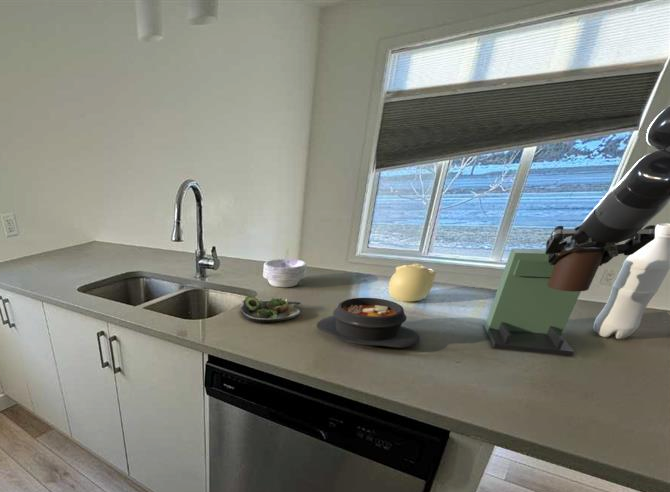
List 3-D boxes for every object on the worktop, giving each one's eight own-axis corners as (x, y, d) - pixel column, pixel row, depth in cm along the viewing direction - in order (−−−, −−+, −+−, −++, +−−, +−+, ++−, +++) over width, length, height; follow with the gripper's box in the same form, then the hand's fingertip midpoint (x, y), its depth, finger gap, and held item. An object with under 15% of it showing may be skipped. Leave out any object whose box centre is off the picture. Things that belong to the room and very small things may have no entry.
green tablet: (484, 326, 106) (511, 248, 96) (553, 332, 100) (590, 249, 90) (493, 348, 96) (524, 263, 86) (571, 356, 90) (615, 265, 80)
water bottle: (583, 328, 101) (634, 222, 88) (620, 329, 98) (678, 221, 86) (599, 339, 95) (656, 228, 82) (639, 341, 93) (704, 227, 80)
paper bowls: (300, 277, 157) (302, 256, 153) (308, 289, 144) (311, 266, 140) (260, 279, 158) (261, 259, 155) (265, 291, 145) (266, 269, 141)
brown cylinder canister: (560, 280, 88) (577, 240, 84) (596, 288, 83) (616, 245, 78) (539, 285, 87) (555, 244, 82) (574, 293, 81) (593, 250, 77)
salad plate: (289, 300, 136) (290, 286, 133) (314, 318, 120) (316, 303, 118) (233, 307, 134) (234, 293, 132) (252, 326, 119) (252, 311, 116)
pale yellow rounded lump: (433, 296, 127) (442, 262, 122) (420, 307, 121) (429, 271, 115) (394, 290, 135) (402, 258, 129) (380, 300, 128) (387, 266, 123)
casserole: (303, 337, 109) (306, 308, 105) (334, 316, 120) (338, 289, 116) (403, 362, 93) (411, 329, 89) (429, 336, 104) (437, 304, 100)
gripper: (688, 187, 66) (623, 246, 81) (572, 191, 73) (531, 245, 87) (687, 227, 65) (621, 279, 80) (569, 228, 71) (528, 276, 86)
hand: (574, 261), depth 83 cm, fingers closed on brown cylinder canister, 6 cm apart
